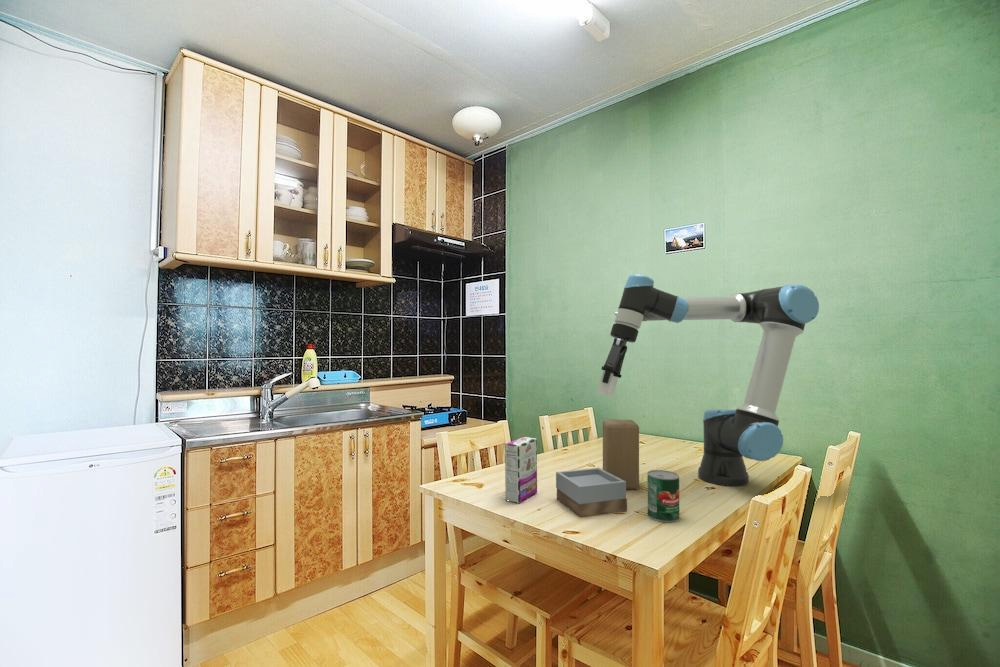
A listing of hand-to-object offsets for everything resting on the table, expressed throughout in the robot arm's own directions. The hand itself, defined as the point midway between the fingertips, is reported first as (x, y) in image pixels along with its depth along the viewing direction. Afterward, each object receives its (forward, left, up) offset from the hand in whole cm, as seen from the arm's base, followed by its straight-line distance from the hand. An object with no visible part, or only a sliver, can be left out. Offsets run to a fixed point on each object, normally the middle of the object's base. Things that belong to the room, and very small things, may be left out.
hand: (604, 395), depth 132 cm
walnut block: (+6, +3, -30) cm, 31 cm away
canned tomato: (-8, +16, -30) cm, 35 cm away
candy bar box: (+22, -9, -30) cm, 38 cm away
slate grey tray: (+7, +3, -26) cm, 27 cm away
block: (-12, -10, -30) cm, 34 cm away
